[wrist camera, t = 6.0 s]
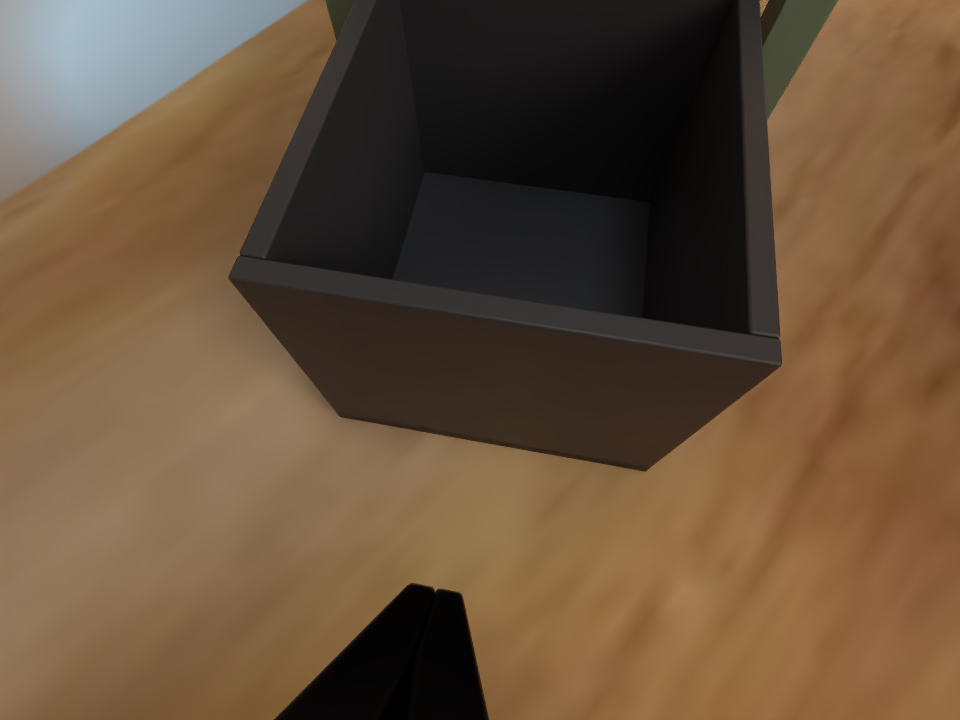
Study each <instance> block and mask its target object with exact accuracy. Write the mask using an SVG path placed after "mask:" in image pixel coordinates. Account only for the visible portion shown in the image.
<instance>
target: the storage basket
mask: <svg viewBox="0 0 960 720" xmlns="http://www.w3.org/2000/svg"><path fill="white" fill-rule="evenodd" d="M229 280H230V281H231V282H232V283H233V285H234V286H235V287H236V288H237V290H238V291H239V292H240V293H241V294H242V296H243V297H244V298H245V299H246V301H247V302H248V303H249V304H250V306H251V307H252V308H253V309H254V311H255V312H256V313H257V314H258V315H259V317H260V318H261V319H262V320H263V322H264V323H265V324H266V325H267V327H268V328H269V329H270V330H271V332H272V333H273V334H274V335H275V336H276V338H277V339H278V340H279V341H280V343H281V344H282V345H283V346H284V348H285V349H286V350H287V351H288V353H289V354H290V355H291V356H292V357H293V359H294V360H295V361H296V362H297V364H298V365H299V366H300V367H301V369H302V370H303V371H304V372H305V374H306V375H307V376H308V377H309V379H310V380H311V381H312V382H313V383H314V385H315V386H316V387H317V388H318V390H319V391H320V392H321V393H322V395H323V396H324V397H325V398H326V400H327V401H328V402H329V403H330V404H331V406H332V407H333V408H334V409H335V411H336V412H337V414H338V415H339V416H340V417H344V418H350V419H356V420H361V421H367V422H372V423H378V424H384V425H389V426H395V427H400V428H406V429H412V430H417V431H423V432H428V433H434V434H440V435H445V436H451V437H456V438H462V439H468V440H473V441H479V442H484V443H490V444H496V445H501V446H507V447H512V448H518V449H524V450H529V451H535V452H540V453H546V454H552V455H557V456H563V457H568V458H574V459H580V460H585V461H591V462H596V463H602V464H608V465H613V466H619V467H624V468H630V469H636V470H641V471H647V470H648V469H649V468H651V467H652V466H653V465H654V464H655V463H657V462H658V461H659V460H661V459H662V458H663V457H664V456H666V455H667V454H668V453H670V452H671V451H672V450H673V449H675V448H676V447H677V446H679V445H680V444H681V443H682V442H684V441H685V440H686V439H688V438H689V437H690V436H692V435H693V434H694V433H695V432H697V431H698V430H699V429H701V428H702V427H703V426H704V425H706V424H707V423H708V422H710V421H711V420H712V419H713V418H715V417H716V416H717V415H719V414H720V413H721V412H722V411H724V410H725V409H726V408H728V407H729V406H730V405H732V404H733V403H734V402H735V401H737V400H738V399H739V398H741V397H742V396H743V395H744V394H746V393H747V392H748V391H750V390H751V389H752V388H753V387H755V386H756V385H757V384H759V383H760V382H761V381H762V380H764V379H765V378H766V377H768V376H769V375H770V374H772V373H773V372H774V371H775V370H777V369H778V368H779V367H781V364H782V357H781V341H780V340H779V337H780V325H779V308H778V292H777V276H776V260H775V244H774V228H773V212H772V196H771V180H770V163H769V147H768V131H767V115H766V99H765V83H764V67H763V51H762V34H761V18H760V2H759V0H355V2H354V4H353V7H352V9H351V11H350V13H349V15H348V17H347V20H346V22H345V24H344V26H343V28H342V31H341V33H340V35H339V37H338V39H337V41H336V44H335V46H334V48H333V50H332V52H331V55H330V57H329V59H328V61H327V63H326V65H325V68H324V70H323V72H322V74H321V76H320V78H319V81H318V83H317V85H316V87H315V89H314V92H313V94H312V96H311V98H310V100H309V102H308V105H307V107H306V109H305V111H304V113H303V116H302V118H301V120H300V122H299V124H298V126H297V129H296V131H295V133H294V135H293V137H292V139H291V142H290V144H289V146H288V148H287V150H286V153H285V155H284V157H283V159H282V161H281V163H280V166H279V168H278V170H277V172H276V174H275V176H274V179H273V181H272V183H271V185H270V187H269V190H268V192H267V194H266V196H265V198H264V200H263V203H262V205H261V207H260V209H259V211H258V214H257V216H256V218H255V220H254V222H253V224H252V227H251V229H250V231H249V233H248V235H247V237H246V240H245V242H244V244H243V246H242V248H241V251H240V256H238V257H237V259H236V261H235V264H234V266H233V268H232V270H231V272H230V274H229Z"/></svg>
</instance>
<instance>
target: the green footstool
mask: <svg viewBox="0 0 960 720" xmlns="http://www.w3.org/2000/svg"><path fill="white" fill-rule="evenodd" d="M354 2H355V0H326V3H327V7H328V11H329V14H330V18H331V22H332V26H333V29H334V33H335V37H336V41H337V39H338V37H339V35H340V33H341V31H342V28H343V26H344V24H345V22H346V20H347V17H348V15H349V13H350V11H351V9H352V7H353V4H354ZM837 2H838V0H769V1H768V3H767V5H766V8H765V10H764V12H763V14H762V16H761V34H762V51H763V67H764V83H765V99H766V115H767V120H768V118H769V116H770V114H771V113H772V111H773V109H774V108H775V106H776V104H777V103H778V101H779V99H780V98H781V96H782V94H783V93H784V91H785V89H786V87H787V86H788V84H789V82H790V81H791V79H792V77H793V76H794V74H795V72H796V71H797V69H798V67H799V66H800V64H801V62H802V61H803V59H804V57H805V55H806V54H807V52H808V50H809V49H810V47H811V45H812V44H813V42H814V40H815V39H816V37H817V35H818V34H819V32H820V30H821V28H822V27H823V25H824V23H825V22H826V20H827V18H828V17H829V15H830V13H831V12H832V10H833V8H834V7H835V5H836V3H837Z"/></svg>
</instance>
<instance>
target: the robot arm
mask: <svg viewBox="0 0 960 720" xmlns="http://www.w3.org/2000/svg"><path fill="white" fill-rule="evenodd" d="M274 720H489V718H488V713H487V708H486V704H485V699H484V694H483V689H482V685H481V680H480V675H479V671H478V666H477V661H476V657H475V652H474V647H473V642H472V638H471V633H470V628H469V624H468V619H467V614H466V609H465V605H464V600H463V596H462V595H461V593H459V592H455V591H450V590H445V589H437V590H436V592H435V590H434V588H433V587H430V586H425V585H420V584H415V583H411V584H409V585H407V586H406V587H405V588H404V589H403V590H402V591H401V592H400V593H399V594H398V595H397V596H396V597H395V598H394V599H393V600H392V601H391V602H390V603H389V604H388V605H387V606H386V607H385V608H384V609H383V610H382V611H381V612H380V613H379V614H378V615H377V616H376V617H375V618H374V619H373V620H372V621H371V622H370V624H369V625H368V626H367V627H366V628H365V629H364V630H363V631H362V632H361V633H360V634H359V635H358V636H357V637H356V638H355V639H354V640H353V641H352V642H351V643H350V644H349V645H348V646H347V647H346V648H345V649H344V650H343V651H342V652H341V653H340V654H339V655H338V656H337V657H336V658H335V659H334V660H333V661H332V662H331V663H330V664H329V665H328V666H327V667H326V668H325V669H324V670H323V671H322V672H321V673H320V674H319V675H318V676H317V677H316V678H315V679H314V680H313V681H312V682H311V683H310V684H309V685H308V686H307V687H306V688H305V689H304V690H303V691H302V692H301V693H300V694H299V695H298V696H297V697H296V698H295V699H294V700H293V701H292V702H291V703H290V704H289V705H288V706H287V707H286V708H285V709H284V710H283V711H282V712H281V713H280V714H279V715H278V716H277V717H276V718H275V719H274Z"/></svg>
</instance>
